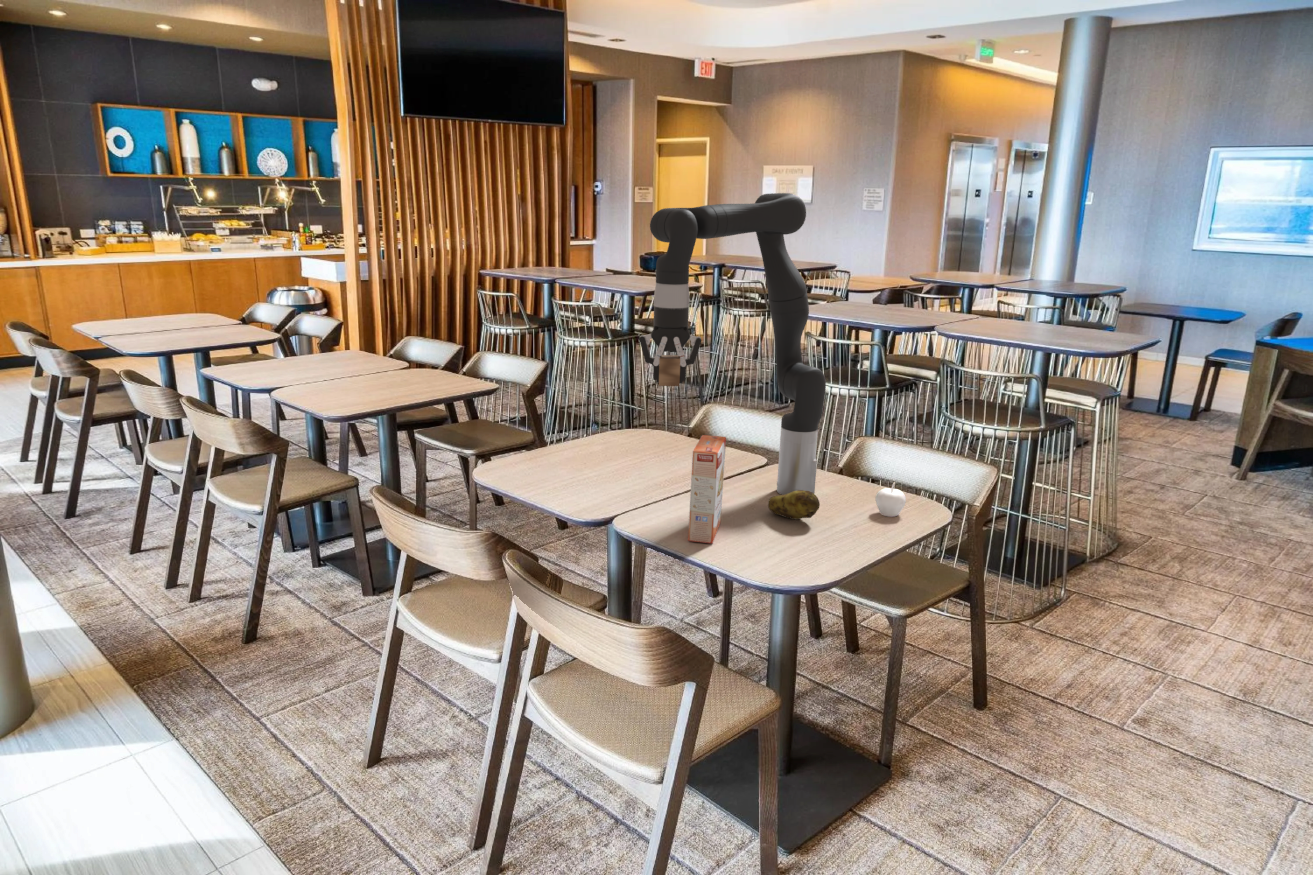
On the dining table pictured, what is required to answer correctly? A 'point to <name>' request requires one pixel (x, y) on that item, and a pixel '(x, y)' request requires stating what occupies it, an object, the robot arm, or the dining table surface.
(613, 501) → the dining table surface
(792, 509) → the potato
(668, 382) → the walnut block
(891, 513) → the plain white apple
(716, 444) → the cracker box
